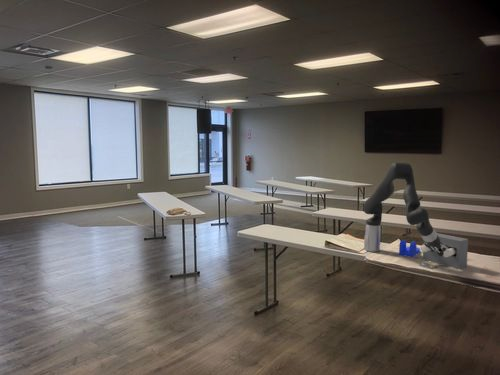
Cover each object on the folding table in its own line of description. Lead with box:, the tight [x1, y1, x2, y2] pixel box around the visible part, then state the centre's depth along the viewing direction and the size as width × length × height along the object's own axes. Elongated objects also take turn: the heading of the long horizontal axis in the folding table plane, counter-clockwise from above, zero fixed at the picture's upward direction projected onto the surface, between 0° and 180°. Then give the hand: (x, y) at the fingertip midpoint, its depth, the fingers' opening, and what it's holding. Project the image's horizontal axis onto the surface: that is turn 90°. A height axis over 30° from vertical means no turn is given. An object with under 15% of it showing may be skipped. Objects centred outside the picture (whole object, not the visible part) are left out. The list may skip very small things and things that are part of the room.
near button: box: [443, 248, 457, 257], centre depth 219 cm, size 8×4×4 cm, turn 124°
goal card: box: [418, 262, 438, 270], centre depth 223 cm, size 6×8×1 cm
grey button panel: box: [422, 232, 469, 270], centre depth 228 cm, size 8×22×16 cm, turn 34°
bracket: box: [398, 239, 421, 258], centre depth 250 cm, size 18×8×9 cm, turn 140°
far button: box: [420, 244, 431, 253], centre depth 230 cm, size 8×4×4 cm, turn 124°
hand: (441, 254), depth 214 cm, fingers closed
